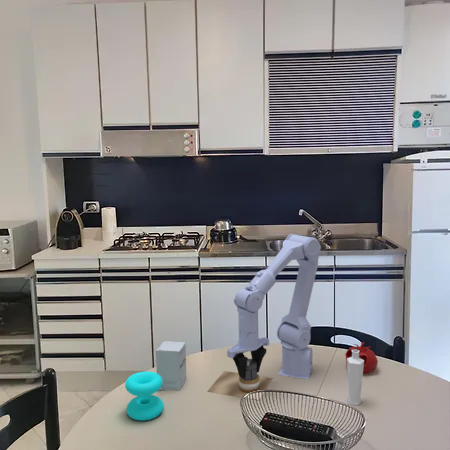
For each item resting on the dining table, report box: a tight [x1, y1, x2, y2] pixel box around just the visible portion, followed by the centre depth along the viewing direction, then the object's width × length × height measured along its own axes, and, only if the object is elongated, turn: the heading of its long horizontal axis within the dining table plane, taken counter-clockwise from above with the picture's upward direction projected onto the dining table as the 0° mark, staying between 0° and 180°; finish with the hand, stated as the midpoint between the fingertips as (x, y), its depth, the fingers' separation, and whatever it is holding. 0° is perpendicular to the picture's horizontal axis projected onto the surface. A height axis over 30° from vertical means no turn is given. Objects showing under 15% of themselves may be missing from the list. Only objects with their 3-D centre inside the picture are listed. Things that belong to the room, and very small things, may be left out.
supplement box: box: [155, 340, 187, 391], centre depth 141 cm, size 7×7×13 cm
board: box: [207, 370, 273, 399], centre depth 140 cm, size 16×14×1 cm
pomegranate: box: [344, 341, 379, 375], centre depth 149 cm, size 10×10×9 cm
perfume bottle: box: [346, 349, 364, 406], centre depth 130 cm, size 5×4×15 cm
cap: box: [240, 358, 258, 381], centre depth 138 cm, size 5×5×5 cm
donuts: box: [124, 371, 164, 421], centre depth 127 cm, size 10×10×10 cm
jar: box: [239, 373, 260, 393], centre depth 138 cm, size 6×6×5 cm
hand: (249, 373), depth 138 cm, fingers closed on cap, 5 cm apart
